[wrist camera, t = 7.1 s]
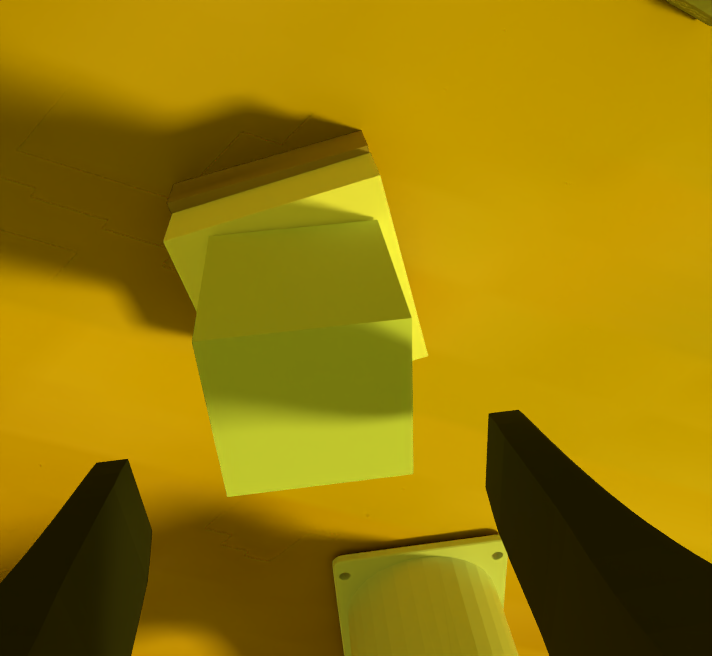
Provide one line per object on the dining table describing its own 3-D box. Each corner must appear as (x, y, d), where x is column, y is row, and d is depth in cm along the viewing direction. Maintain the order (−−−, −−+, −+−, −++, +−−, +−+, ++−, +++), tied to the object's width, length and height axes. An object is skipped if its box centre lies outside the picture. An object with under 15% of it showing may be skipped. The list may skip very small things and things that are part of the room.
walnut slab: (400, 290, 24) (410, 318, 22) (239, 334, 24) (237, 366, 22) (359, 126, 21) (367, 145, 19) (175, 179, 21) (166, 203, 19)
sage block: (382, 355, 20) (413, 473, 16) (235, 372, 20) (226, 496, 16) (377, 219, 18) (411, 317, 14) (208, 236, 18) (191, 341, 14)
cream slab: (416, 322, 22) (428, 355, 21) (245, 372, 23) (243, 409, 21) (370, 152, 19) (380, 175, 17) (172, 213, 19) (163, 241, 18)
